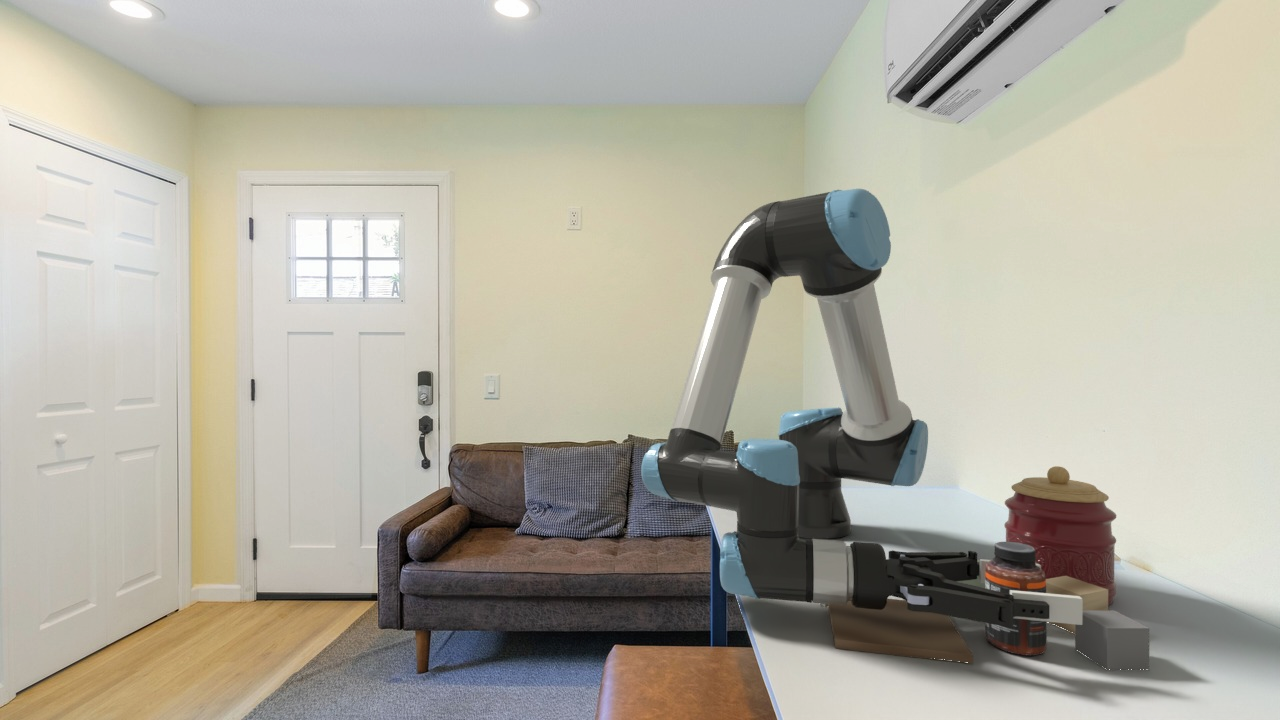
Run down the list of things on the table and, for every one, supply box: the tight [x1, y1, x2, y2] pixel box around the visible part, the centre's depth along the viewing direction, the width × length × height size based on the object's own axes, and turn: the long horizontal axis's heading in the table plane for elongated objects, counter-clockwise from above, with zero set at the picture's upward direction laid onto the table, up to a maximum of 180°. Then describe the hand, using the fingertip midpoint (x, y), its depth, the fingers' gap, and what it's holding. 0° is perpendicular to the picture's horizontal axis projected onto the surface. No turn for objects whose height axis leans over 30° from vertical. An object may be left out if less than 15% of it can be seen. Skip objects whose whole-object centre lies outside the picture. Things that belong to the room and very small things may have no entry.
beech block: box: [1046, 576, 1109, 634], centre depth 74 cm, size 5×5×5 cm
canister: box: [1004, 466, 1117, 606], centre depth 85 cm, size 13×13×18 cm
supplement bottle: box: [984, 541, 1048, 656], centre depth 68 cm, size 6×6×11 cm
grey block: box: [1074, 610, 1150, 671], centre depth 65 cm, size 4×4×4 cm
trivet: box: [827, 598, 974, 664], centre depth 72 cm, size 14×14×1 cm
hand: (1058, 591), depth 67 cm, fingers open, 10 cm apart
